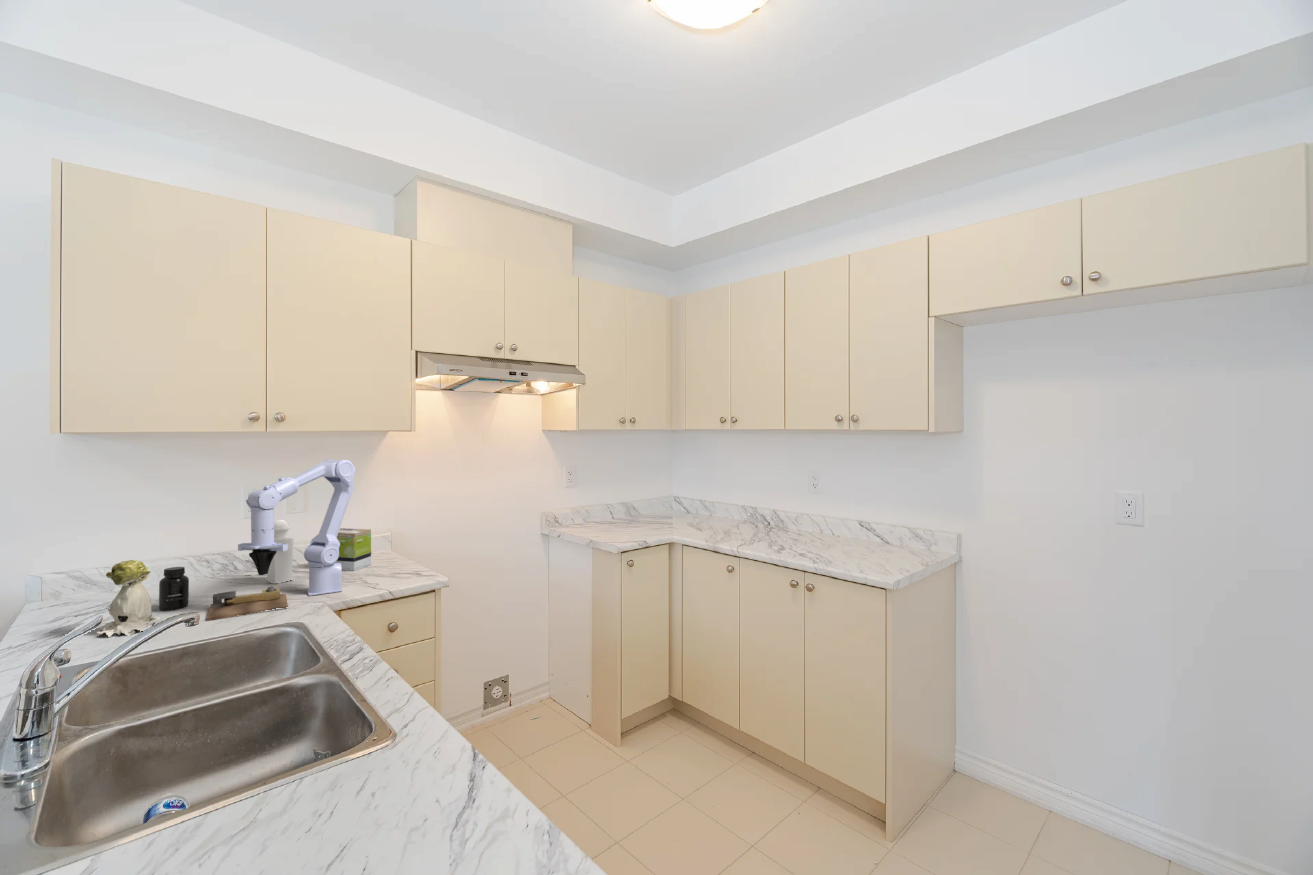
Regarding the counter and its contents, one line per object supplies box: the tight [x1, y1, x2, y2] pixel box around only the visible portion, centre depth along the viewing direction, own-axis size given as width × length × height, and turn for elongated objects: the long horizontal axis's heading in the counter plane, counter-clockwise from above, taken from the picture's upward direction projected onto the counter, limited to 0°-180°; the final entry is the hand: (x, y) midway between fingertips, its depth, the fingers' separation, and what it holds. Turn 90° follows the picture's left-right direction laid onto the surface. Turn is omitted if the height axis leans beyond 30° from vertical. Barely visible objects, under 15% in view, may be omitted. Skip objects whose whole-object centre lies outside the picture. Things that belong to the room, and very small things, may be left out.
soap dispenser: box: [265, 519, 294, 584], centre depth 200 cm, size 6×6×22 cm
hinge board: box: [206, 585, 289, 622], centre depth 170 cm, size 19×16×4 cm
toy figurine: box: [96, 559, 160, 638], centre depth 152 cm, size 12×13×18 cm
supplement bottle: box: [158, 566, 190, 612], centre depth 170 cm, size 7×7×12 cm
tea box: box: [335, 527, 372, 572], centre depth 221 cm, size 15×10×15 cm, turn 81°
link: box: [223, 587, 281, 605], centre depth 174 cm, size 14×5×2 cm, turn 123°
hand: (263, 574), depth 171 cm, fingers closed
